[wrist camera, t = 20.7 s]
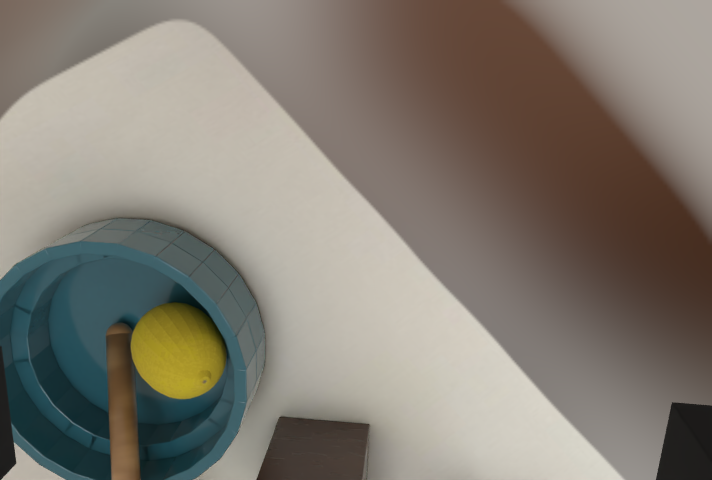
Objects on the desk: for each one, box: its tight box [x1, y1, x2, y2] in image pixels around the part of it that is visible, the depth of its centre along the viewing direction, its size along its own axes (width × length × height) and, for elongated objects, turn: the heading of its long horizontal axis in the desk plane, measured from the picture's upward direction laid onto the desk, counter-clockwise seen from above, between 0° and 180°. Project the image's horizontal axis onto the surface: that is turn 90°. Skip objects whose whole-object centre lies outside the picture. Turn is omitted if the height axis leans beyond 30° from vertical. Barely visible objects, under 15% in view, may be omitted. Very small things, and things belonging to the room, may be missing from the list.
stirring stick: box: [106, 323, 141, 480], centre depth 45 cm, size 2×2×20 cm
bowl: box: [0, 218, 265, 480], centre depth 46 cm, size 18×18×6 cm
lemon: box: [131, 302, 227, 399], centre depth 44 cm, size 6×6×8 cm
